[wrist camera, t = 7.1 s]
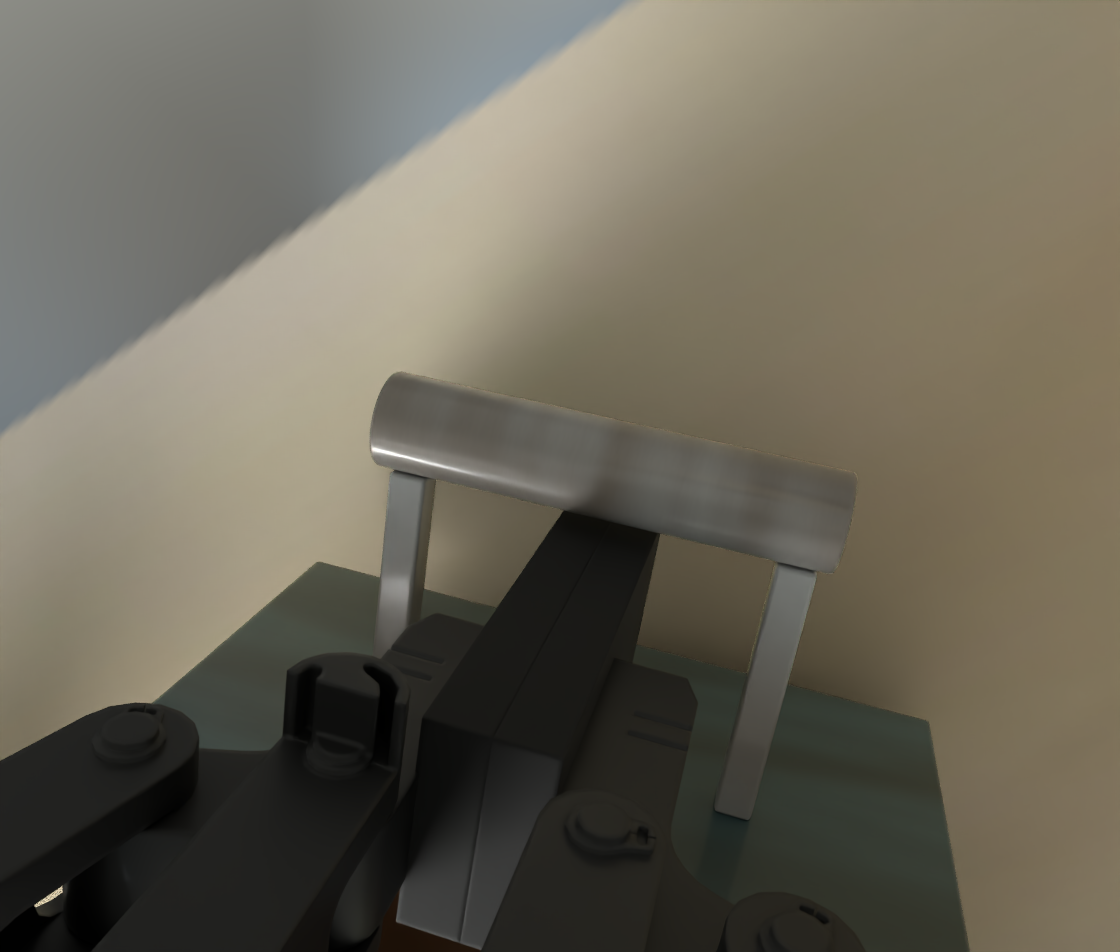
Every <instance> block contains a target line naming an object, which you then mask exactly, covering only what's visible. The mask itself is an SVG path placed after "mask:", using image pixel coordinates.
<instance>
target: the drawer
mask: <svg viewBox="0 0 1120 952" xmlns="http://www.w3.org/2000/svg"><path fill="white" fill-rule="evenodd" d="M370 451H371V455H372V458H373V460H374V462H375V463H376V464H377V465H379V466H381V467H385V468H389V469H393V470H394V471H392V472H391V474H390V480H389V490H388V501H387V511H386V522H385V532H384V543H383V553H382V563H381V574H380V577H376V576H372V575H369V574H365V573H361V572H357V571H353V570H349V569H346V568H342V567H338V566H334V565H330V564H327V563H323V562H316V563H315V564H314V565H313V566H312V567H310V568H309V569H308V570H307V571H306V572H305V573H303V574H302V575H301V576H300V577H299V578H298V579H296V580H295V581H294V582H293V583H292V584H291V585H289V586H288V587H287V588H286V589H285V590H284V591H282V592H281V593H280V594H279V595H278V596H277V597H275V598H274V599H273V600H272V601H271V602H270V603H268V604H267V605H266V606H265V607H264V608H263V609H261V610H260V611H259V612H258V613H257V614H256V615H254V616H253V617H252V618H251V619H250V620H249V621H247V622H246V623H245V624H244V625H243V626H242V627H241V628H239V629H238V630H237V631H236V632H235V633H234V634H232V635H231V636H230V637H229V638H228V639H227V640H225V641H224V642H223V643H222V644H221V645H220V646H218V647H217V648H216V649H215V650H214V651H213V652H211V653H210V654H209V655H208V656H207V657H206V658H204V659H203V660H202V661H201V662H200V663H199V664H197V665H196V666H195V667H194V668H193V669H192V670H190V671H189V672H188V673H187V674H186V675H185V676H183V677H182V678H181V679H180V680H179V681H178V682H176V683H175V684H174V685H173V686H172V687H171V688H169V689H168V690H167V691H166V692H165V693H164V694H162V695H161V696H160V697H159V698H158V699H157V700H155V701H154V702H153V703H152V704H161V705H164V706H167V707H170V708H173V709H176V710H179V711H182V712H183V713H184V714H185V715H186V716H188V717H189V718H190V719H191V720H192V721H193V722H195V724H196V728H197V731H198V734H199V748H208V749H224V750H239V751H264V750H270V749H271V748H272V747H273V746H274V745H275V744H276V743H277V742H278V740H279V739H280V738H281V737H282V735H283V720H284V705H285V690H286V675H287V670H288V669H289V668H291V667H292V666H294V665H295V664H297V663H298V662H300V661H301V660H303V659H306V658H309V657H313V656H316V655H320V654H323V653H336V652H353V653H359V654H365V655H371V656H374V657H377V658H379V659H381V658H382V656H383V655H384V654H385V653H386V652H387V650H388V649H390V650H391V647H392V645H393V643H394V642H395V641H396V640H397V639H398V637H399V636H400V635H401V634H402V633H403V631H404V630H405V629H406V628H407V627H408V626H409V625H411V624H413V623H415V622H417V621H419V620H421V619H424V618H426V617H428V616H430V615H432V614H434V613H436V612H437V613H441V614H445V615H448V616H452V617H456V618H459V619H463V620H467V621H470V622H474V623H478V624H481V625H486V623H487V622H488V620H489V619H490V618H491V616H492V615H493V613H494V612H495V610H496V609H497V608H495V607H491V606H487V605H483V604H479V603H476V602H472V601H468V600H464V599H460V598H457V597H453V596H449V595H445V594H441V593H437V592H434V591H430V590H426V589H424V582H425V573H426V564H427V555H428V547H429V538H430V529H431V520H432V512H433V503H434V494H435V485H436V480H439V481H443V482H448V483H452V484H456V485H460V486H464V487H468V488H472V489H477V490H481V491H485V492H489V493H493V494H497V495H502V496H506V497H510V498H514V499H518V500H522V501H527V502H531V503H535V504H539V505H543V506H547V507H551V508H556V509H560V510H564V511H568V512H572V513H576V514H581V515H585V516H589V517H593V518H597V519H601V520H606V521H610V522H614V523H618V524H622V525H626V526H630V527H635V528H639V529H643V530H647V531H651V532H655V533H660V534H664V535H668V536H672V537H676V538H680V539H685V540H689V541H693V542H697V543H701V544H705V545H709V546H714V547H718V548H722V549H726V550H730V551H734V552H739V553H743V554H747V555H751V556H755V557H759V558H764V559H768V560H772V561H775V564H774V568H773V571H772V575H771V579H770V583H769V587H768V591H767V595H766V599H765V603H764V607H763V610H762V614H761V618H760V622H759V626H758V630H757V634H756V638H755V642H754V646H753V649H752V653H751V657H750V661H749V665H748V669H747V673H743V672H739V671H736V670H732V669H728V668H724V667H720V666H717V665H713V664H709V663H705V662H701V661H697V660H694V659H690V658H686V657H682V656H678V655H674V654H671V653H667V652H663V651H659V650H655V649H652V648H648V647H644V646H640V645H636V649H635V653H634V658H633V663H634V664H638V665H642V666H646V667H649V668H653V669H657V670H660V671H664V672H668V673H671V674H675V675H679V676H682V677H686V678H688V680H689V683H690V685H691V687H692V690H693V692H694V694H695V697H696V699H697V701H698V707H697V711H696V716H695V720H694V725H693V729H692V734H691V738H690V743H689V747H688V751H687V756H686V761H685V765H684V770H683V774H682V779H681V783H680V788H679V792H678V797H677V802H676V806H675V811H674V815H673V820H672V824H671V840H672V843H673V847H674V850H675V853H676V855H677V856H678V858H679V859H680V861H681V863H682V864H683V866H684V867H685V868H686V869H687V870H688V871H689V872H690V873H691V874H692V876H693V877H694V878H695V879H696V880H697V881H698V882H700V883H701V884H703V885H704V886H705V887H707V888H708V889H710V890H711V891H713V892H714V893H715V894H717V895H719V896H720V897H722V898H724V899H725V900H727V901H729V902H731V903H732V904H734V905H736V903H737V902H738V901H739V900H741V899H743V898H746V897H748V896H750V895H753V894H755V893H757V892H786V893H790V894H793V895H797V896H800V897H804V898H808V899H811V900H812V901H814V902H816V903H818V904H819V905H821V906H823V907H825V908H826V909H828V910H830V911H832V912H833V913H835V914H836V915H837V916H838V917H839V918H840V919H841V920H842V921H844V922H845V923H846V924H847V925H848V926H849V927H850V928H851V929H852V930H853V931H854V932H855V933H856V934H857V936H858V938H859V940H860V941H861V943H862V945H863V947H864V949H865V950H866V952H970V949H969V944H968V938H967V933H966V927H965V921H964V916H963V910H962V905H961V899H960V893H959V888H958V882H957V877H956V871H955V865H954V860H953V854H952V849H951V843H950V837H949V832H948V826H947V821H946V815H945V809H944V804H943V798H942V793H941V787H940V781H939V776H938V770H937V765H936V759H935V753H934V748H933V742H932V737H931V731H930V725H929V722H928V721H926V720H923V719H919V718H915V717H912V716H908V715H904V714H900V713H896V712H892V711H889V710H885V709H881V708H877V707H873V706H870V705H866V704H862V703H858V702H854V701H850V700H847V699H843V698H839V697H835V696H831V695H827V694H824V693H820V692H816V691H812V690H808V689H805V688H801V687H797V686H793V685H789V684H788V681H789V677H790V674H791V670H792V666H793V663H794V659H795V655H796V652H797V648H798V645H799V641H800V637H801V634H802V630H803V626H804V623H805V619H806V615H807V612H808V608H809V605H810V601H811V597H812V594H813V590H814V586H815V583H816V579H817V571H818V572H822V573H826V574H833V573H834V571H835V570H836V569H837V567H838V565H839V562H840V560H841V557H842V554H843V551H844V547H845V544H846V541H847V537H848V533H849V529H850V525H851V521H852V516H853V511H854V506H855V500H856V494H857V475H856V473H854V472H852V471H848V470H843V469H839V468H834V467H830V466H825V465H821V464H816V463H812V462H807V461H803V460H798V459H794V458H789V457H785V456H780V455H775V454H771V453H766V452H762V451H757V450H753V449H748V448H744V447H739V446H735V445H730V444H726V443H721V442H717V441H712V440H708V439H703V438H699V437H694V436H690V435H685V434H681V433H676V432H672V431H667V430H663V429H658V428H654V427H649V426H645V425H640V424H636V423H631V422H627V421H622V420H618V419H613V418H609V417H604V416H600V415H595V414H591V413H586V412H582V411H577V410H573V409H568V408H564V407H559V406H554V405H550V404H545V403H541V402H536V401H532V400H527V399H523V398H518V397H514V396H509V395H505V394H500V393H496V392H491V391H487V390H482V389H478V388H473V387H469V386H464V385H460V384H455V383H451V382H446V381H442V380H437V379H433V378H428V377H424V376H419V375H415V374H410V373H406V372H396V373H394V374H393V375H391V376H390V377H389V378H388V380H387V381H386V382H385V384H384V386H383V388H382V390H381V392H380V394H379V396H378V399H377V402H376V405H375V408H374V412H373V416H372V421H371V428H370ZM399 894H400V889H399V891H398V893H397V894H396V896H395V898H394V900H393V902H392V903H391V905H390V907H389V909H388V910H387V912H386V914H385V916H384V918H383V925H382V933H381V941H380V945H379V949H378V952H481V950H479V949H476V948H473V947H470V946H467V945H464V944H461V943H458V942H455V941H452V940H449V939H446V938H443V937H440V936H437V935H434V934H431V933H428V932H425V931H422V930H419V929H416V928H413V927H410V926H407V925H404V924H401V923H398V922H396V918H397V910H398V902H399Z"/></svg>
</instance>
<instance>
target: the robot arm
mask: <svg viewBox="0 0 1120 952" xmlns="http://www.w3.org/2000/svg"><path fill="white" fill-rule="evenodd" d="M659 537H660V533H655V532H651V531H647V530H643V529H639V528H635V527H630V526H626V525H622V524H618V523H614V522H610V521H606V520H601V519H597V518H593V517H589V516H585V515H581V514H576V513H572V512H568V511H563V512H562V514H561V515H560V517H559V518H558V520H557V521H556V523H555V524H554V526H553V527H552V529H551V530H550V531H549V533H548V534H547V536H546V537H545V539H544V540H543V542H542V543H541V545H540V546H539V547H538V549H537V550H536V552H535V553H534V555H533V556H532V558H531V559H530V561H529V562H528V564H527V565H526V566H525V568H524V569H523V571H522V572H521V574H520V575H519V577H518V578H517V580H516V581H515V583H514V584H513V585H512V587H511V588H510V590H509V591H508V593H507V594H506V596H505V597H504V599H503V600H502V602H501V603H500V604H499V606H498V607H497V609H496V610H495V612H494V613H493V615H492V616H491V618H490V619H489V620H488V622H487V623H486V625H481V624H478V623H474V622H470V621H467V620H463V619H459V618H456V617H452V616H448V615H445V614H441V613H437V612H436V613H434V614H432V615H430V616H428V617H426V618H424V619H421V620H419V621H417V622H415V623H413V624H411V625H409V626H408V627H407V628H406V629H405V630H404V631H403V633H402V634H401V635H400V636H399V637H398V639H397V640H396V641H395V642H394V643H393V645H392V647H391V650H390V649H388V650H387V652H386V653H385V654H384V655H383V656H382V658H381V659H379V658H377V657H374V656H371V655H365V654H359V653H353V652H336V653H323V654H320V655H316V656H313V657H309V658H306V659H303V660H301V661H300V662H298V663H297V664H295V665H294V666H292V667H291V668H289V669H288V670H287V675H286V690H285V705H284V720H283V735H282V737H281V738H280V739H279V740H278V742H277V743H276V744H275V745H274V746H273V747H272V748H271V749H270V750H264V751H239V750H224V749H208V748H199V734H198V731H197V728H196V724H195V722H193V721H192V720H191V719H190V718H189V717H188V716H186V715H185V714H184V713H183V712H182V711H179V710H176V709H173V708H170V707H167V706H164V705H161V704H149V703H130V704H123V705H116V706H110V707H107V708H104V709H102V710H99V711H96V712H94V713H91V714H89V715H86V716H84V717H82V718H80V719H78V720H76V721H75V722H73V723H71V724H69V725H67V726H65V727H63V728H61V729H60V730H58V731H56V732H54V733H52V734H50V735H48V736H46V737H44V738H43V739H41V740H39V741H37V742H35V743H33V744H31V745H29V746H28V747H26V748H24V749H22V750H20V751H18V752H16V753H14V754H13V755H11V756H9V757H7V758H5V759H3V760H1V761H0V952H378V949H379V945H380V941H381V933H382V925H383V918H384V916H385V914H386V912H387V910H388V909H389V907H390V905H391V903H392V902H393V900H394V898H395V896H396V894H397V893H398V891H399V889H400V894H399V902H398V910H397V918H396V922H398V923H401V924H404V925H407V926H410V927H413V928H416V929H419V930H422V931H425V932H428V933H431V934H434V935H437V936H440V937H443V938H446V939H449V940H452V941H455V942H458V943H461V944H464V945H467V946H470V947H473V948H476V949H479V950H481V952H866V950H865V949H864V947H863V945H862V943H861V941H860V940H859V938H858V936H857V934H856V933H855V932H854V931H853V930H852V929H851V928H850V927H849V926H848V925H847V924H846V923H845V922H844V921H842V920H841V919H840V918H839V917H838V916H837V915H836V914H835V913H833V912H832V911H830V910H828V909H826V908H825V907H823V906H821V905H819V904H818V903H816V902H814V901H812V900H811V899H808V898H804V897H800V896H797V895H793V894H790V893H786V892H757V893H755V894H753V895H750V896H748V897H746V898H743V899H741V900H739V901H738V902H737V903H736V905H734V904H732V903H731V902H729V901H727V900H725V899H724V898H722V897H720V896H719V895H717V894H715V893H714V892H713V891H711V890H710V889H708V888H707V887H705V886H704V885H703V884H701V883H700V882H698V881H697V880H696V879H695V878H694V877H693V876H692V874H691V873H690V872H689V871H688V870H687V869H686V868H685V867H684V866H683V864H682V863H681V861H680V859H679V858H678V856H677V855H676V853H675V850H674V847H673V843H672V840H671V824H672V820H673V815H674V811H675V806H676V802H677V797H678V792H679V788H680V783H681V779H682V774H683V770H684V765H685V761H686V756H687V751H688V747H689V743H690V738H691V734H692V729H693V725H694V720H695V716H696V711H697V707H698V701H697V699H696V697H695V694H694V692H693V690H692V687H691V685H690V683H689V680H688V678H686V677H682V676H679V675H675V674H671V673H668V672H664V671H660V670H657V669H653V668H649V667H646V666H642V665H638V664H634V663H633V658H634V653H635V649H636V644H637V639H638V635H639V630H640V625H641V621H642V616H643V611H644V607H645V602H646V597H647V593H648V588H649V583H650V579H651V574H652V569H653V565H654V560H655V555H656V551H657V546H658V541H659ZM62 885H63V893H61V894H60V895H58V896H57V897H56V898H54V899H53V900H51V901H49V902H47V903H45V904H42V905H40V906H38V907H35V906H34V905H35V904H36V903H38V902H39V901H40V900H42V899H43V898H45V897H46V896H48V895H49V894H51V893H52V892H54V891H55V890H57V889H58V888H60V887H61V886H62Z"/></svg>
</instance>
